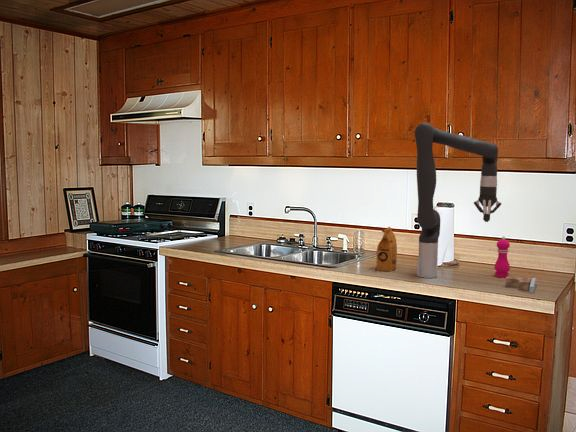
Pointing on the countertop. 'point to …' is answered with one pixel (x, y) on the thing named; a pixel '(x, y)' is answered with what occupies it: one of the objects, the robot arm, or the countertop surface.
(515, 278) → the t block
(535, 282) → the stop rail
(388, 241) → the coffee package
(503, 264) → the pepper mill
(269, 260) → the countertop surface
